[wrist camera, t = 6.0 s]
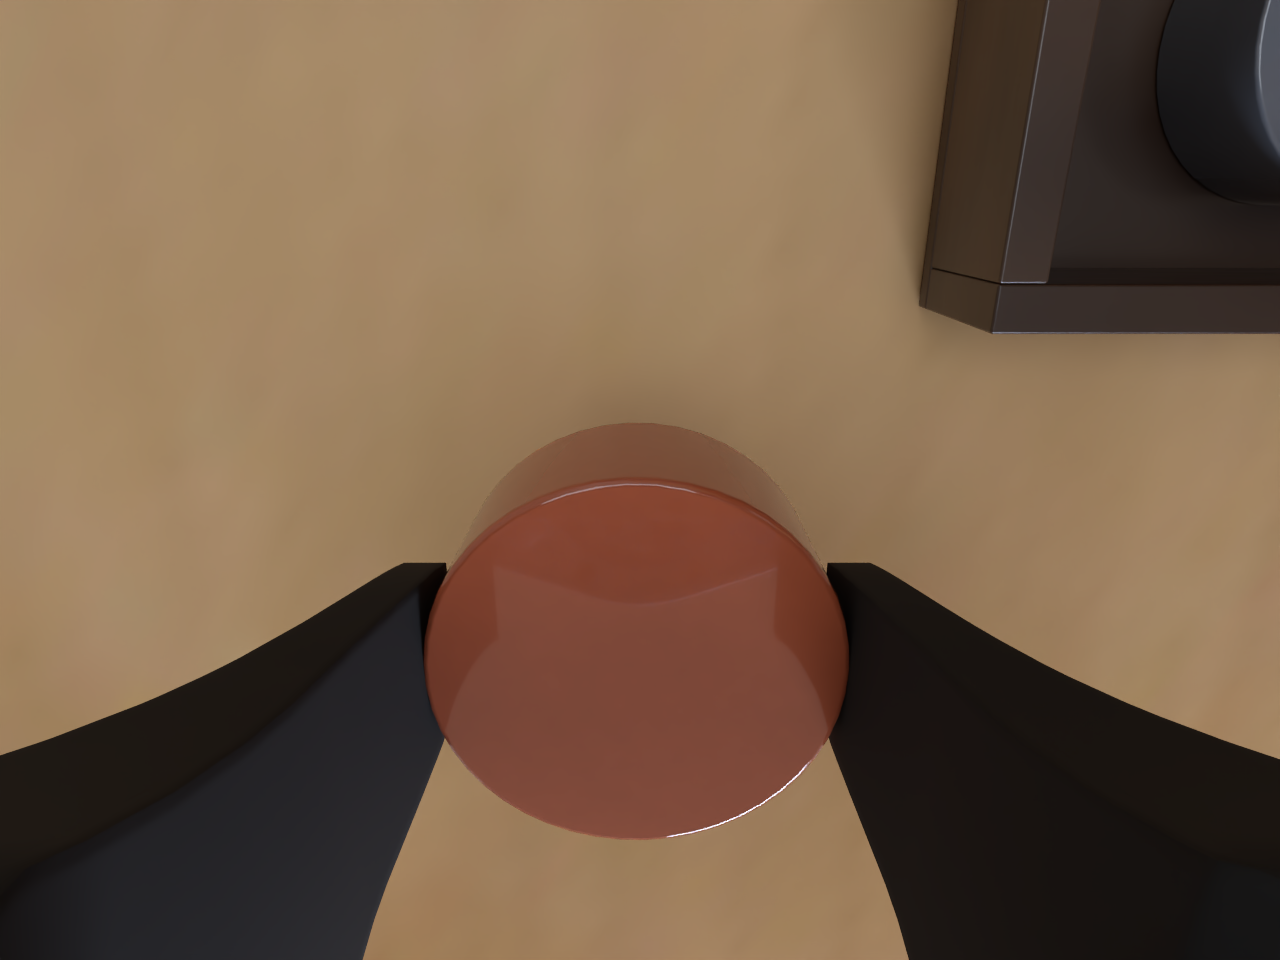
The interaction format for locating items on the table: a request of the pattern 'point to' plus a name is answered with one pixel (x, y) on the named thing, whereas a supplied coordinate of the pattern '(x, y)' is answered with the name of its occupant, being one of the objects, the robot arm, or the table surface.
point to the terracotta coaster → (636, 636)
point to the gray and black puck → (1224, 95)
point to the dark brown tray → (1082, 186)
